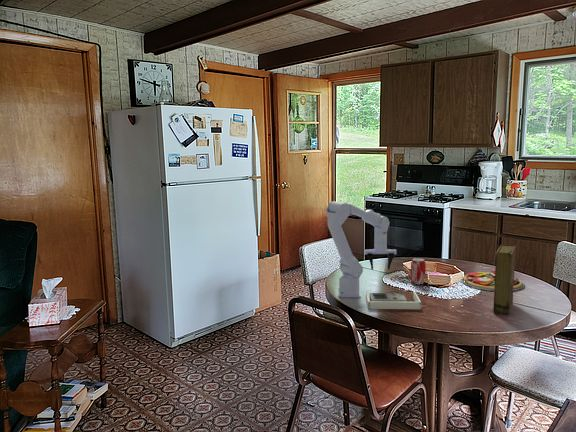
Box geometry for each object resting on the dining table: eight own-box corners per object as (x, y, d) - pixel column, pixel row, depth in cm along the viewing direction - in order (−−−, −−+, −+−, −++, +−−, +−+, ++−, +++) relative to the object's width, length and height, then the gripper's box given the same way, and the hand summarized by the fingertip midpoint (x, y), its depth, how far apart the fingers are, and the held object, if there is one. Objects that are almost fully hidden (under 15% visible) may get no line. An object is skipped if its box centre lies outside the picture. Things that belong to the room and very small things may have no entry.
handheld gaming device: (406, 308, 184) (407, 299, 184) (371, 307, 186) (371, 299, 185) (403, 301, 193) (403, 292, 192) (369, 300, 194) (369, 292, 194)
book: (498, 301, 188) (501, 244, 184) (512, 303, 185) (516, 245, 182) (493, 313, 175) (496, 252, 171) (508, 316, 172) (511, 253, 168)
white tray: (368, 308, 184) (368, 301, 183) (365, 297, 197) (365, 291, 196) (421, 309, 181) (421, 302, 181) (415, 298, 195) (415, 291, 194)
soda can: (426, 285, 211) (426, 261, 209) (411, 285, 213) (411, 261, 211) (424, 281, 218) (425, 257, 216) (410, 280, 220) (410, 257, 218)
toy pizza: (507, 274, 226) (507, 266, 225) (536, 292, 199) (536, 283, 198) (452, 276, 227) (453, 267, 226) (474, 293, 199) (474, 284, 199)
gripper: (395, 239, 209) (394, 266, 211) (364, 239, 211) (364, 266, 213) (397, 242, 202) (396, 270, 204) (365, 242, 204) (365, 270, 206)
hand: (380, 269), depth 208 cm, fingers open, 7 cm apart
